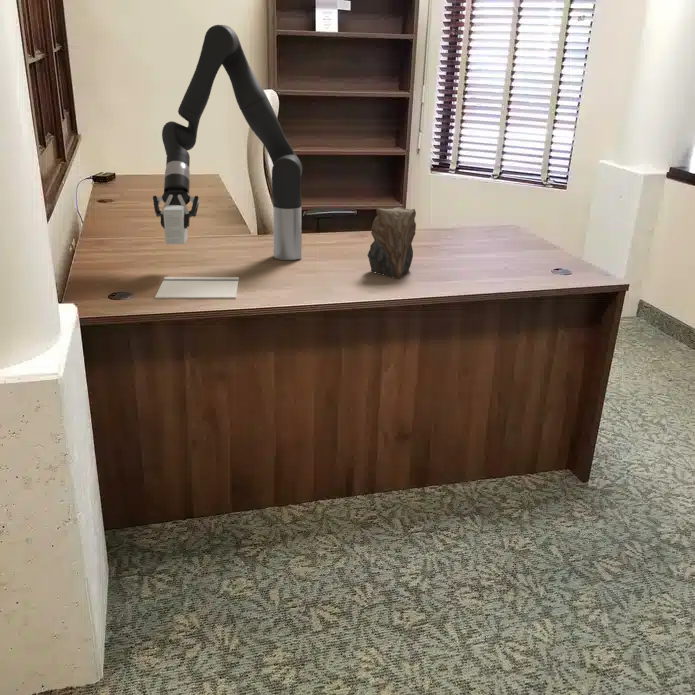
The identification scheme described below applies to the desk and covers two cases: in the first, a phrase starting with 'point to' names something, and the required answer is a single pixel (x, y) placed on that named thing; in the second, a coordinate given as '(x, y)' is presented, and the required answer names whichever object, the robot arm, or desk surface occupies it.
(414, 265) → the desk surface
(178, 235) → the small box
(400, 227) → the owl
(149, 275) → the desk surface
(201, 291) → the mat
